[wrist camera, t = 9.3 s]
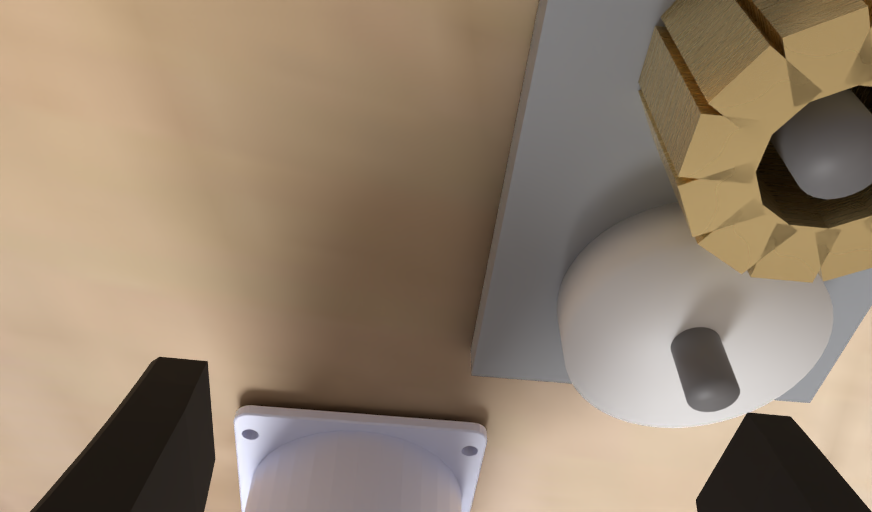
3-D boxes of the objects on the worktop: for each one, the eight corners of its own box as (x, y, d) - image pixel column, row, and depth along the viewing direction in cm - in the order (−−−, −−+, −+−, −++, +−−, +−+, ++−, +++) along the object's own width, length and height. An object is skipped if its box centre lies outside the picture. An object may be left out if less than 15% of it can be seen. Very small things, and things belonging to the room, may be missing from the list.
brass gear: (842, 188, 18) (915, 292, 15) (613, 165, 18) (644, 267, 15) (968, -49, 15) (1092, 28, 12) (687, -83, 14) (747, -12, 11)
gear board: (797, 377, 23) (859, 508, 20) (470, 350, 23) (475, 480, 19) (1369, -579, 11) (1806, -677, 7) (676, -696, 10) (794, -863, 7)
